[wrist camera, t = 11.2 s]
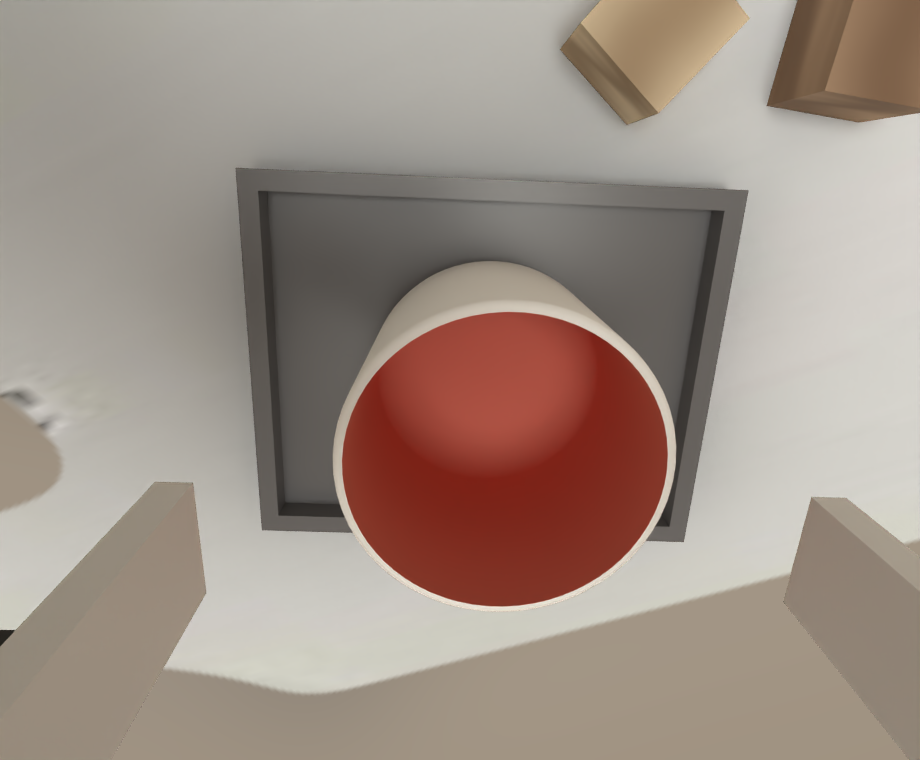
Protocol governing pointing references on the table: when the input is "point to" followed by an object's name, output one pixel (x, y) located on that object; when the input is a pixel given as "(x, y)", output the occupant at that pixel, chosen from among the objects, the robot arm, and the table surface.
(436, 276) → the cup
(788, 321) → the table surface
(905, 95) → the walnut block
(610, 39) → the maple block
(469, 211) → the tray
